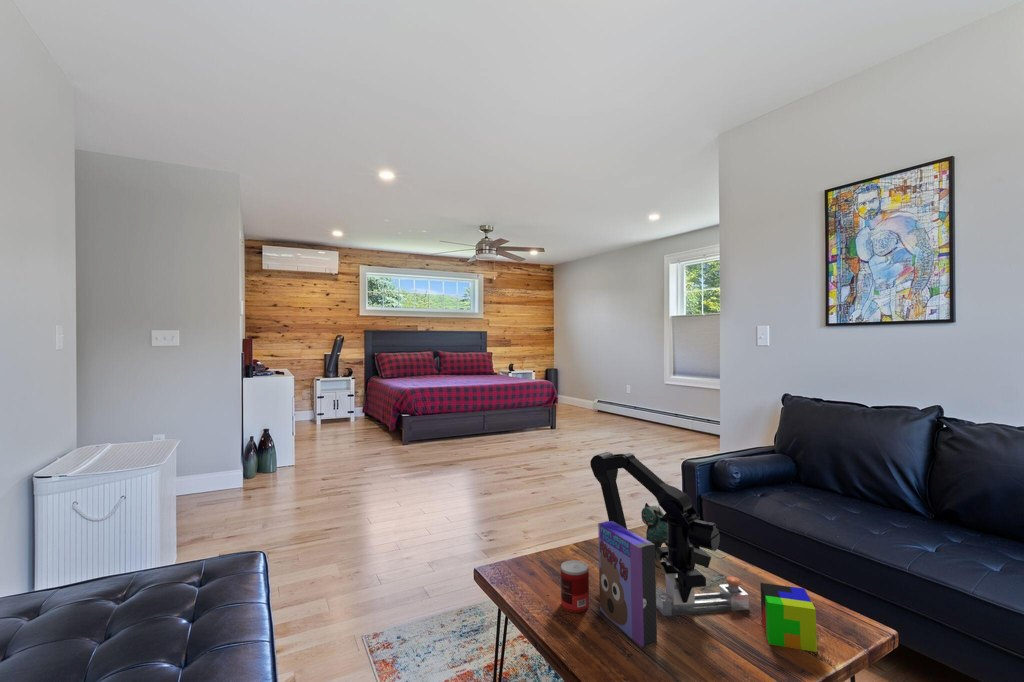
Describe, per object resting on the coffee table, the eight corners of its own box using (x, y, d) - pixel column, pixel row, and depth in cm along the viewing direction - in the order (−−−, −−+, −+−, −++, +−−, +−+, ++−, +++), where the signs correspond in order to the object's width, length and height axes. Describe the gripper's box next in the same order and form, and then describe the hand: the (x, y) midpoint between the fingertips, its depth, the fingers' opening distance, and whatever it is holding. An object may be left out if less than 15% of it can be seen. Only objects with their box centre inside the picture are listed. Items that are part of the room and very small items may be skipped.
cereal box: (599, 610, 127) (598, 522, 128) (614, 606, 129) (612, 520, 130) (641, 647, 111) (639, 547, 112) (657, 642, 113) (654, 543, 114)
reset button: (731, 600, 128) (730, 583, 128) (724, 593, 131) (723, 576, 131) (743, 599, 128) (743, 582, 128) (736, 593, 132) (735, 576, 132)
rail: (663, 615, 124) (662, 599, 124) (654, 603, 130) (653, 588, 130) (748, 609, 127) (748, 593, 127) (736, 597, 133) (735, 582, 133)
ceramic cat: (640, 554, 162) (639, 496, 162) (654, 550, 165) (652, 493, 165) (686, 578, 144) (684, 513, 145) (700, 573, 147) (699, 510, 148)
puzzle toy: (805, 628, 118) (804, 588, 118) (817, 652, 109) (815, 609, 109) (761, 621, 121) (760, 582, 122) (769, 644, 112) (767, 602, 112)
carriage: (674, 605, 125) (673, 583, 125) (665, 595, 130) (665, 573, 130) (695, 604, 126) (694, 581, 126) (686, 594, 131) (685, 572, 131)
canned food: (592, 601, 132) (591, 562, 132) (584, 616, 125) (583, 575, 125) (566, 595, 135) (565, 557, 136) (557, 609, 128) (556, 569, 128)
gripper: (724, 552, 120) (726, 613, 119) (690, 525, 138) (691, 578, 138) (683, 555, 119) (685, 617, 118) (654, 527, 137) (655, 581, 137)
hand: (679, 596), depth 128 cm, fingers open, 5 cm apart
